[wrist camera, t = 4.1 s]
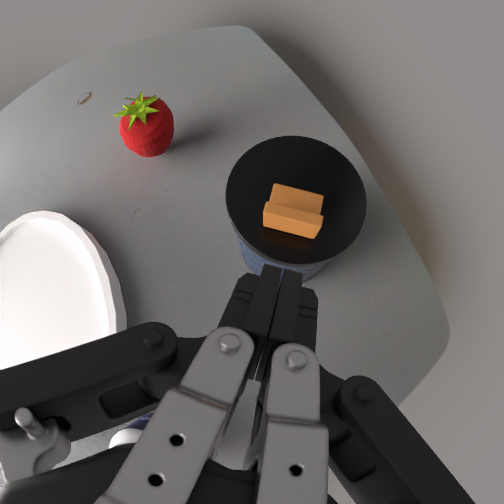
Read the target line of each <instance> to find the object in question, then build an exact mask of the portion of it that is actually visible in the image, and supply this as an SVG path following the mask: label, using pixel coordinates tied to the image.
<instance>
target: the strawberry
mask: <svg viewBox="0 0 504 504" xmlns="http://www.w3.org/2000/svg"><path fill="white" fill-rule="evenodd" d="M155 96H156V95H155ZM155 96H152V97H142V92H141V93H140V95H139V96H138V97H137V99H132V100H135V101H134V102H132V103H131V104H130V105H123V107H125V108H126V109H125V110H123V111H121V112H119V113H117V114H114V115H113V116H122V118H121V122H120V133H121V136H122V139H123V141H124V143H125V145H126V146H127V147H128V148H129V149H130V150H132V151H133V152H135V153H137V154H138V155H140V156H143V157H154V156H159V155H161V154H163V153H164V152H165V151H166V150H167V149H168V147H169V145H170V143H171V141H172V138H173V134H174V121H173V115H172V112H171V110H170V109H169V108H168V106H167V105H166V104H165V102H164V101H162V100H161V99H160V97H159V98H156V97H155ZM124 99H131V98H124Z"/></svg>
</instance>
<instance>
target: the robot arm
mask: <svg viewBox="0 0 504 504" xmlns="http://www.w3.org/2000/svg"><path fill="white" fill-rule="evenodd" d="M282 270H283V268H280V267H276V266H272V265H269V264H265V263H264V266H263V269H262V272H261V275H260V276H258V275H254V274H251V273H246V274H245V275H243V276H242V277H241V278H239V279H238V281H237V284H236V286H235V288H234V290H233V293H232V295H231V298H230V300H229V302H228V304H227V307H226V309H225V311H224V313H223V316H222V318H221V320H220V323H219V325H218V327H217V328H216V329H214V330H212V331H211V332H210V333H209V334H208V335H207V336H204V337H200V338H181V337H177V336H176V334H175V332H174V331H173V329H171V328H170V327H169V326H167V325H165V324H163V323H159V322H147V323H144V324H141V325H138V326H135V327H132V328H129V329H126V330H123V331H120V332H118V333H115V334H112V335H109V336H106V337H103V338H100V339H97V340H94V341H91V342H88V343H85V344H82V345H79V346H76V347H73V348H70V349H66V350H63V351H60V352H57V353H54V354H51V355H48V356H44V357H41V358H38V359H35V360H32V361H28V362H25V363H22V364H18V365H15V366H12V367H8V368H5V369H2V370H0V469H1V472H2V476H3V478H4V481H5V485H4V486H3V487H2V488H1V489H0V504H338V503H337V502H336V501H335V500H334V499H333V498H332V497H331V496H330V495H329V494H328V493H327V491H328V466H329V467H330V468H331V470H332V471H333V472H334V474H335V475H336V477H337V478H338V480H339V481H340V482H341V484H342V485H343V487H344V488H345V489H346V491H347V492H348V493H349V495H350V496H351V498H352V499H353V500H354V502H355V503H356V504H475V503H474V501H473V500H472V499H471V498H470V496H469V495H468V494H467V493H466V491H465V490H464V489H463V488H462V486H461V485H460V484H459V483H458V481H457V480H456V479H455V478H454V476H453V475H452V474H451V473H450V471H449V470H448V469H447V468H446V467H445V465H444V464H443V463H442V462H441V460H440V459H439V458H438V457H437V455H436V454H435V453H434V452H433V450H432V449H431V448H430V447H429V446H428V444H427V443H426V442H425V441H424V439H423V438H422V437H421V436H420V434H419V433H418V432H417V431H416V430H415V428H414V427H413V426H412V425H411V424H410V422H409V421H408V420H407V419H406V417H405V416H404V415H403V414H402V413H401V411H400V410H399V409H398V408H397V407H396V405H395V404H394V403H393V402H392V401H391V399H390V398H389V397H388V396H387V395H386V393H385V392H384V391H383V390H382V389H381V387H380V386H379V385H378V384H377V383H376V382H375V381H374V380H372V379H370V378H368V377H365V376H352V377H350V378H348V379H347V380H346V381H345V380H343V379H341V378H339V377H337V376H335V375H333V374H331V373H329V372H328V371H326V370H325V369H324V368H323V367H322V366H321V365H320V364H319V360H318V358H317V356H316V354H315V346H316V331H317V310H318V298H317V296H316V294H315V292H314V290H313V289H309V288H305V287H302V279H303V273H300V272H296V271H292V270H288V269H284V271H283V275H282V278H281V274H282ZM280 279H281V282H280ZM279 283H280V285H279ZM278 288H279V289H278ZM261 354H262V355H261ZM260 357H261V359H260ZM259 360H260V362H259ZM258 363H259V366H258ZM257 366H258V370H257V374H256V378H255V381H259V382H261V385H260V389H259V393H258V395H257V398H256V401H255V406H254V412H253V418H252V424H251V430H250V436H249V442H248V448H247V452H246V455H245V458H244V462H243V467H242V470H232V469H229V468H226V467H224V466H223V465H221V464H219V463H217V462H215V461H214V460H215V458H216V456H217V453H218V450H219V448H220V445H221V442H222V440H223V437H224V435H225V433H226V430H227V428H228V425H229V423H230V421H231V418H232V416H233V413H234V411H235V408H236V406H237V403H238V401H239V398H240V396H241V395H242V393H243V392H244V389H245V386H246V383H247V379H251V380H253V378H254V375H255V372H256V369H257ZM154 410H155V412H154V414H153V415H152V417H151V419H150V420H149V422H148V424H147V425H146V427H145V429H144V430H143V432H142V434H141V435H140V437H139V439H138V440H137V442H135V443H127V444H122V445H118V446H115V447H112V448H109V449H107V450H105V451H102V452H100V453H97V454H95V455H92V456H90V457H87V458H84V459H82V460H79V461H76V462H74V463H71V464H68V465H65V466H62V467H59V468H56V469H53V470H52V468H53V467H54V466H55V465H56V464H58V463H60V462H62V461H64V460H65V459H66V458H67V457H68V455H69V453H70V450H71V442H73V441H76V440H79V439H82V438H85V437H88V436H91V435H94V434H96V433H99V432H102V431H105V430H107V429H110V428H113V427H115V426H118V425H120V424H123V423H125V422H128V421H130V420H133V419H135V418H138V417H140V416H142V415H145V414H147V413H149V412H152V411H154Z"/></svg>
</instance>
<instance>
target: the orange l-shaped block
mask: <svg viewBox="0 0 504 504" xmlns="http://www.w3.org/2000/svg"><path fill="white" fill-rule="evenodd" d="M323 198H324V196H323V195H319V194H315V193H312V192H308V191H304V190H300V189H296V188H292V187H288V186H284V185H280V184H276V183H275V184H274V186H273V190H272V194H271V197H270V201H269V202H266V204H265V208H264V211H263V226H265V227H269V228H273V229H276V230H280V231H284V232H288V233H292V234H296V235H300V236H303V237H307V238H311V239H314V238H315V237H316V235H317V234H318V232H319V230H320V228H321V227H322V222H323V216H322V215H320V213H321V208H322V203H323Z"/></svg>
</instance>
